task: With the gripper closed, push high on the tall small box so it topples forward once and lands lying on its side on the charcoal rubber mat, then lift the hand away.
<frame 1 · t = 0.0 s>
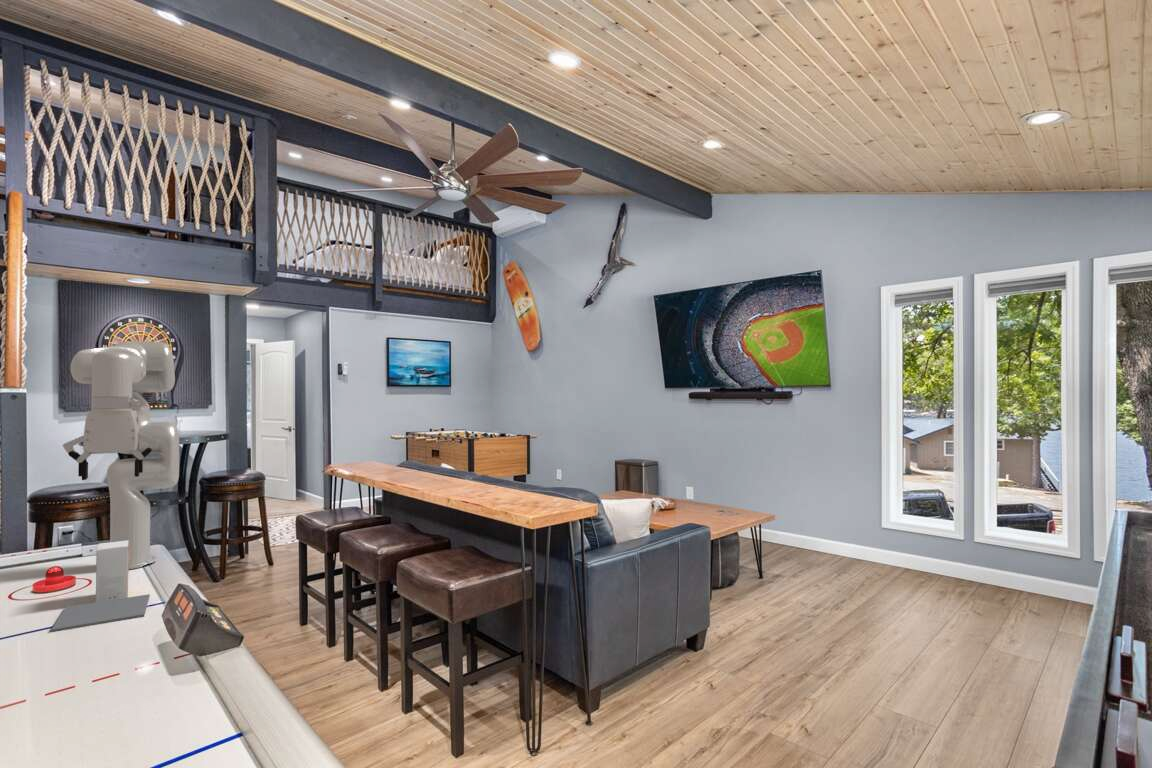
hand: (111, 477, 137), 31 cm above the table, tool pointing down, fingers open, 9 cm apart
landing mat: (104, 612, 135), on the table
small box: (112, 597, 146), on the table
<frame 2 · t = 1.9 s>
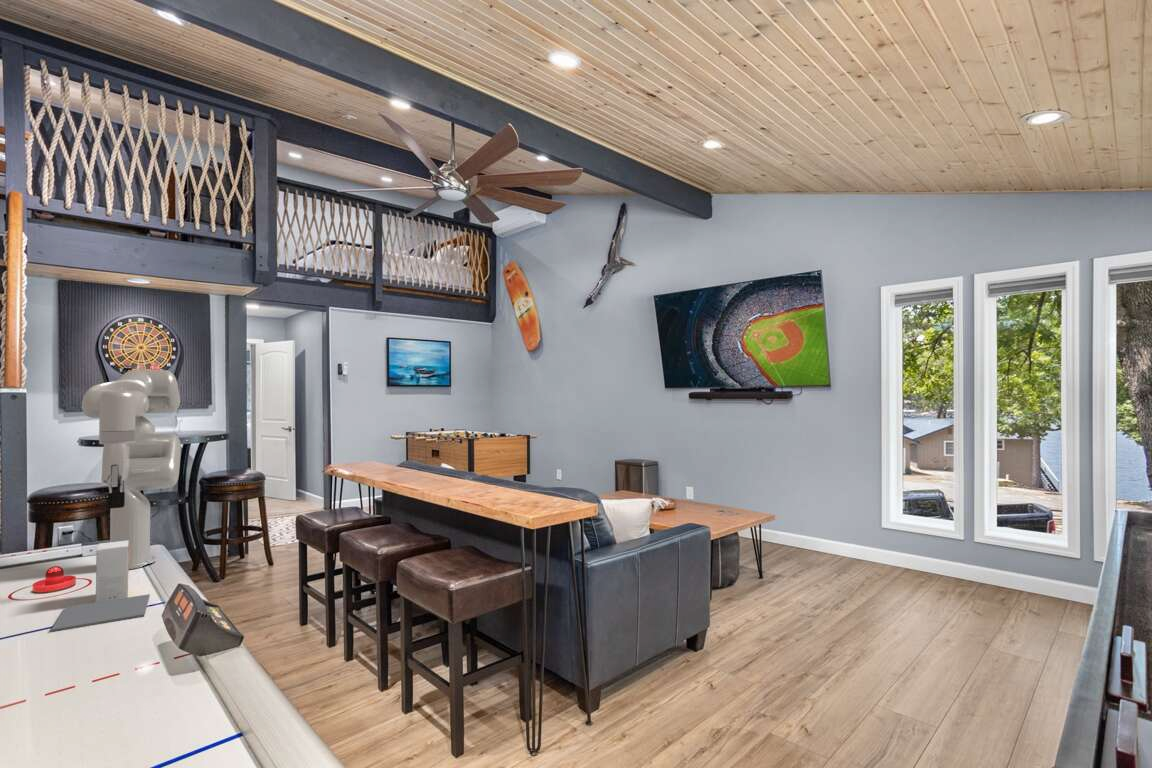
hand: (116, 507, 153), 21 cm above the table, tool pointing down, fingers closed
nothing on the table moved.
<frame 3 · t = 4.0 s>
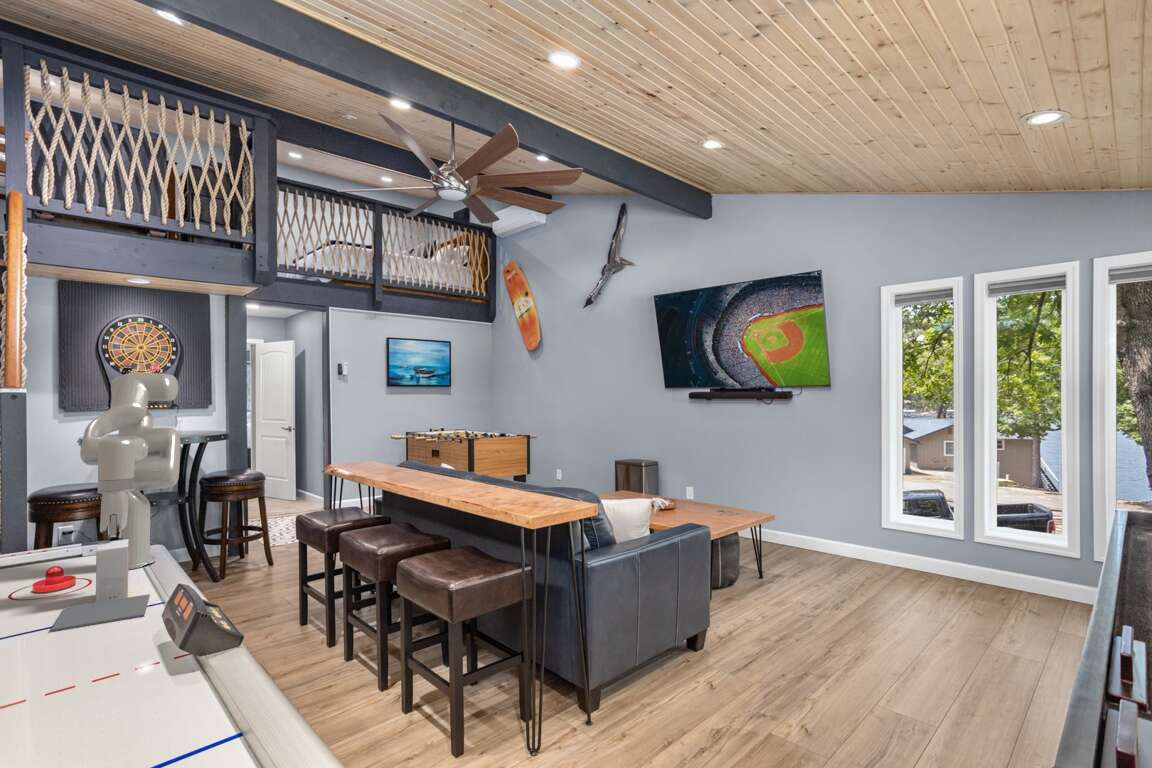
hand: (115, 556, 151), 9 cm above the table, tool pointing down, fingers closed
small box: (112, 596, 146), on the table, touching gripper
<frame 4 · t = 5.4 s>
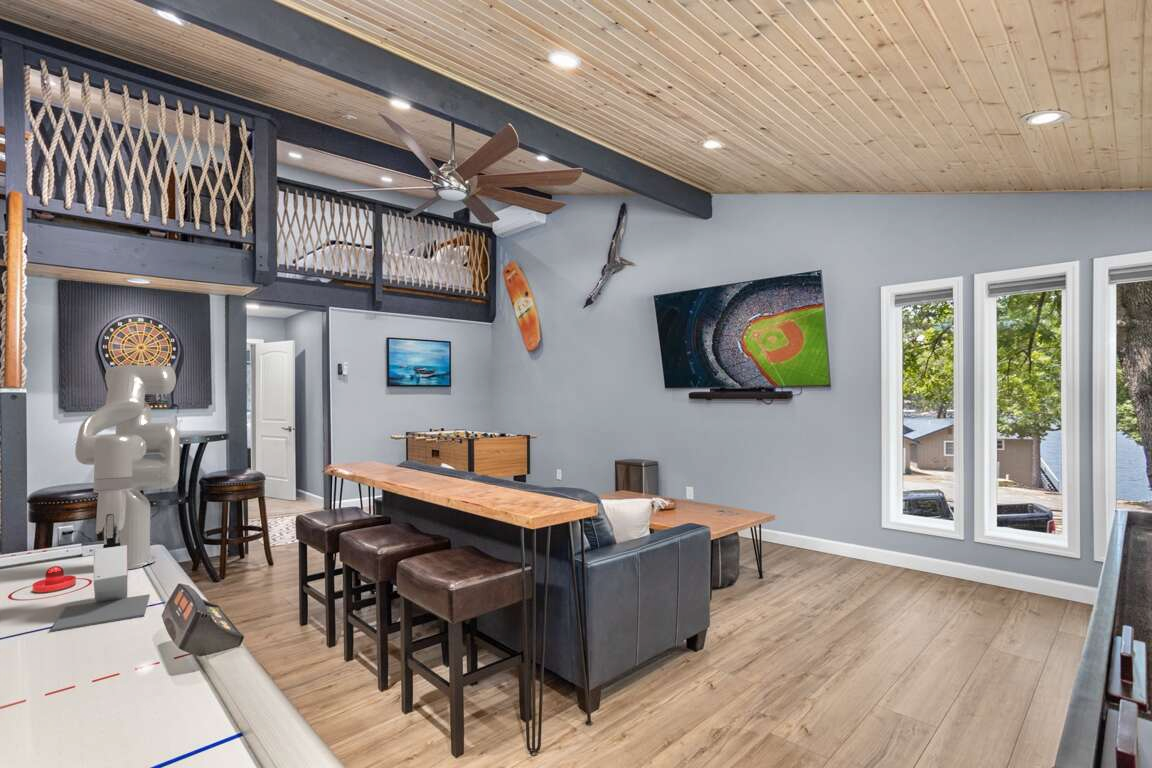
hand: (111, 559, 144), 10 cm above the table, tool pointing down, fingers closed
small box: (111, 586, 145), point 3 cm above the table, touching gripper, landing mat
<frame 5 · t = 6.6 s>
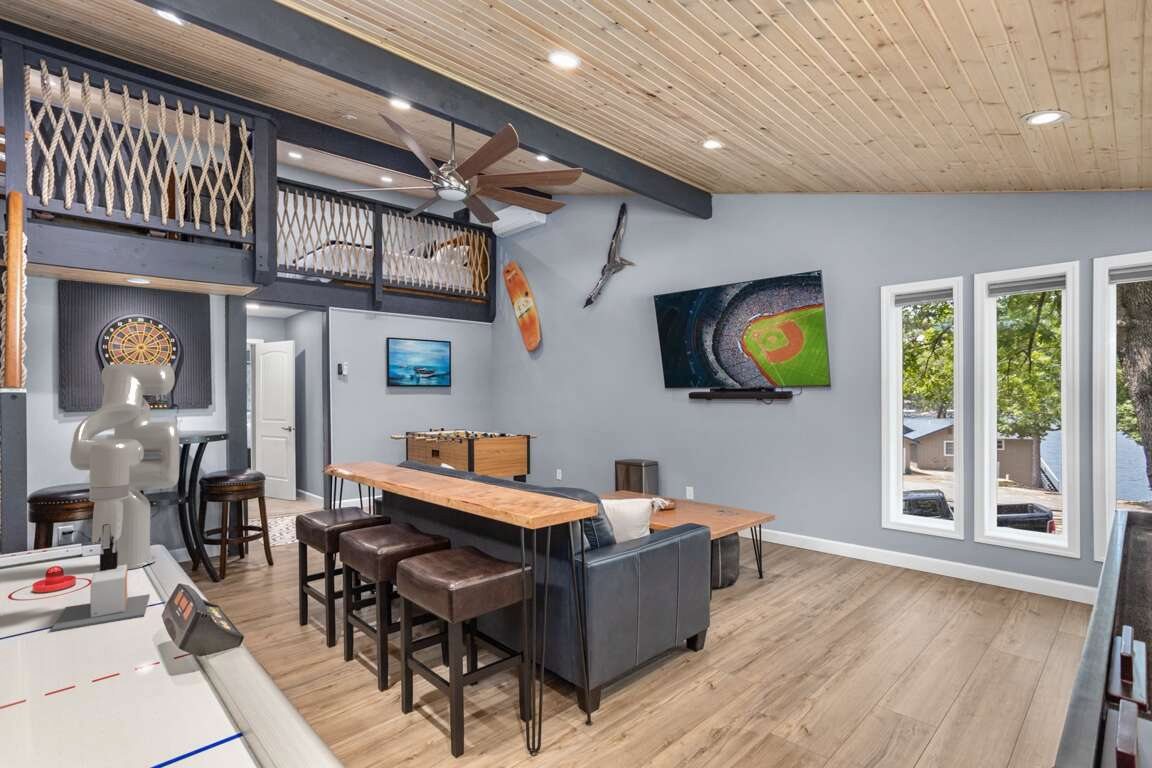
hand: (108, 569, 141), 9 cm above the table, tool pointing down, fingers closed
small box: (111, 582, 143), point 5 cm above the table, touching gripper, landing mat
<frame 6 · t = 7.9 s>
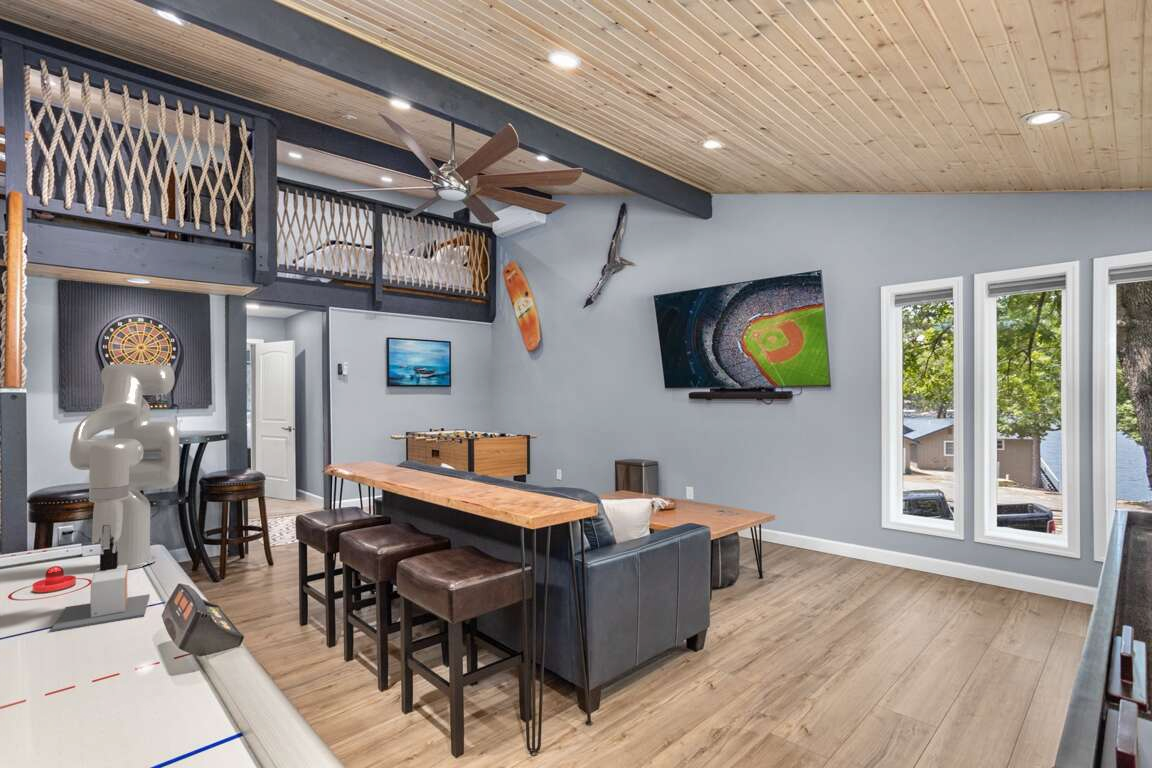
hand: (108, 569, 141), 9 cm above the table, tool pointing down, fingers closed
nothing on the table moved.
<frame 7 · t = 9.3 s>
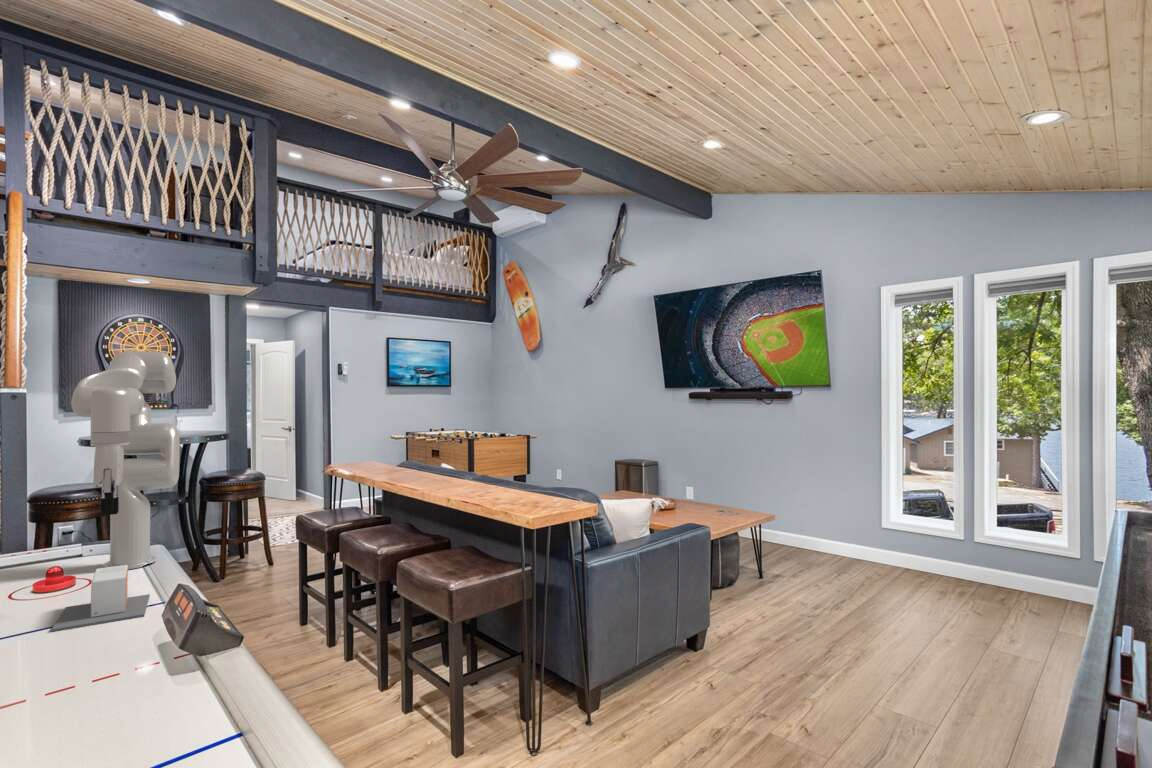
hand: (109, 513, 142), 22 cm above the table, tool pointing down, fingers closed
small box: (112, 582, 143), point 5 cm above the table, touching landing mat
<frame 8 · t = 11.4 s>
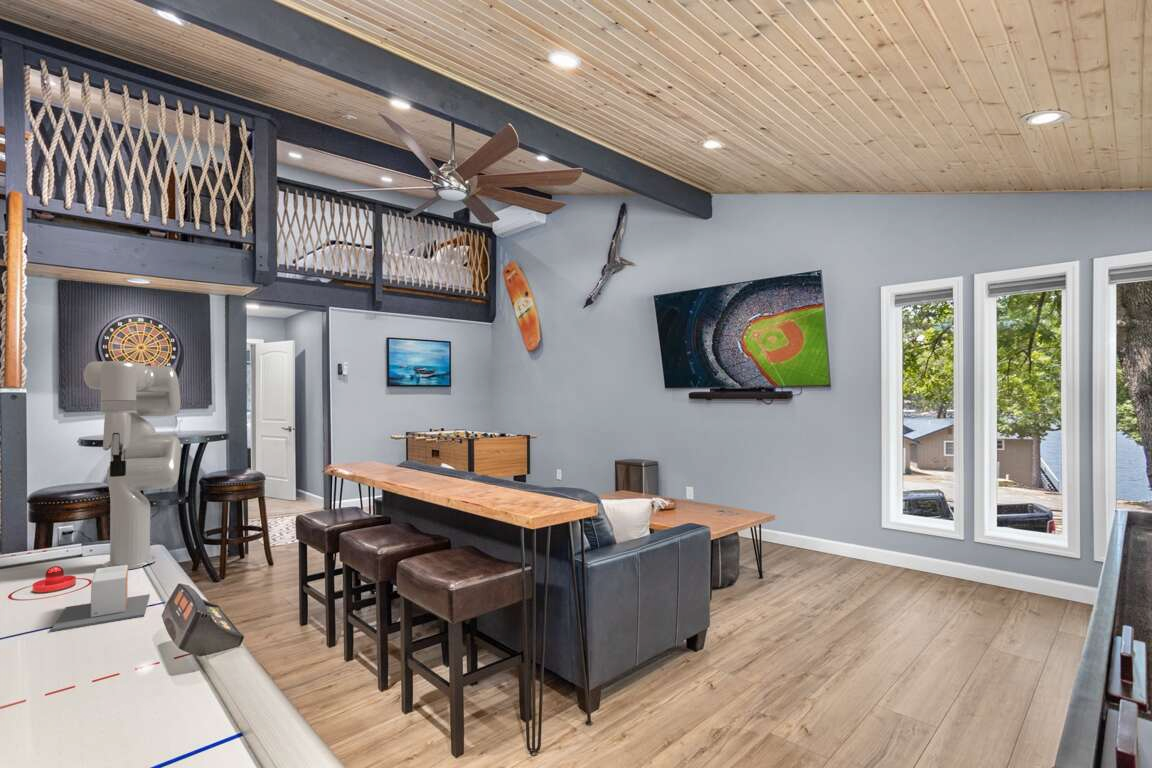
hand: (117, 475, 155), 29 cm above the table, tool pointing down, fingers closed
nothing on the table moved.
at the end: small box tilted 90°; small box touching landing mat; the gripper is holding nothing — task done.
